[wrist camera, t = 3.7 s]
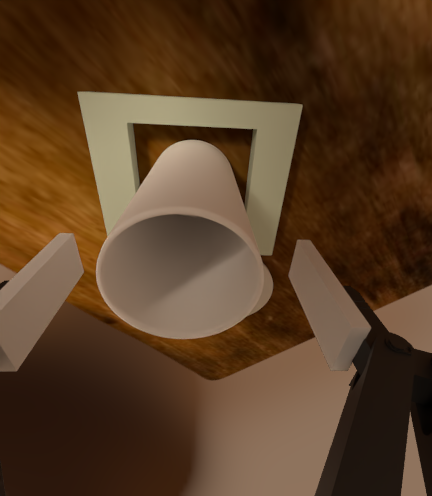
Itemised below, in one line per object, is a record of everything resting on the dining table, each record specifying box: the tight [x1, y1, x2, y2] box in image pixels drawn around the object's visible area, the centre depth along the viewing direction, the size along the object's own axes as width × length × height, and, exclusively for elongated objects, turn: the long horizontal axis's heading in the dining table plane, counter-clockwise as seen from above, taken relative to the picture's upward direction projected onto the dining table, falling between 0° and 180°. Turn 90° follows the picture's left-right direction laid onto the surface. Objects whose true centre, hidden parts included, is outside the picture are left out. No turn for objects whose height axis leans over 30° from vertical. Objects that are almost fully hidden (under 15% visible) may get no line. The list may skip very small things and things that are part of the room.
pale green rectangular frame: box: [77, 91, 303, 255], centre depth 25 cm, size 18×15×2 cm
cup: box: [96, 140, 264, 339], centre depth 19 cm, size 8×8×16 cm
